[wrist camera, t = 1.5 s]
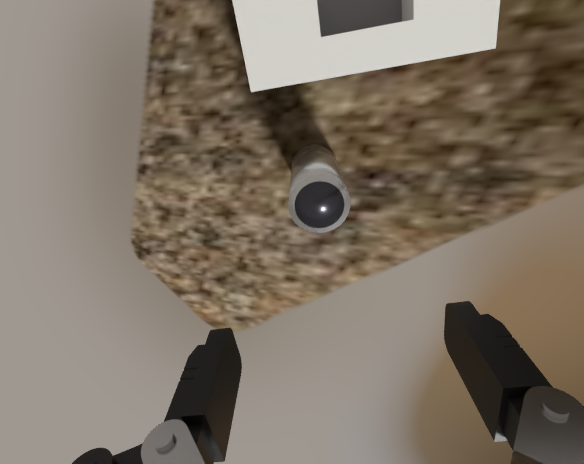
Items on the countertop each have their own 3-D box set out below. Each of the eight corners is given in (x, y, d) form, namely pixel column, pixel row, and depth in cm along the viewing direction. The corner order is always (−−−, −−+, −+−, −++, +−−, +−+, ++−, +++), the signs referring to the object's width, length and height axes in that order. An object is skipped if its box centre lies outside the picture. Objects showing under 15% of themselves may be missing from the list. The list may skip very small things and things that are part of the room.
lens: (334, 141, 32) (347, 171, 23) (339, 185, 34) (353, 229, 25) (288, 148, 33) (283, 180, 23) (295, 191, 35) (293, 237, 25)
